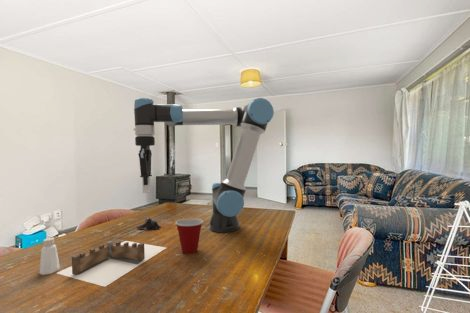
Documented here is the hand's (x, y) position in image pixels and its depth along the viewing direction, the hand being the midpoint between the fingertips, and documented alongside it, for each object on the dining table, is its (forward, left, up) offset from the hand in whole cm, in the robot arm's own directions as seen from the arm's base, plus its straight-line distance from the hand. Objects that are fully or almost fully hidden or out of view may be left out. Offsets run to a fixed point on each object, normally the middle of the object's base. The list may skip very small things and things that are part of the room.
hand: (146, 192), depth 95 cm
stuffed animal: (+14, -15, -23) cm, 31 cm away
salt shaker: (+16, +28, -23) cm, 39 cm away
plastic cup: (-20, -1, -23) cm, 30 cm away
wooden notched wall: (-1, +13, -22) cm, 25 cm away
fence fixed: (+5, +21, -22) cm, 31 cm away
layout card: (+1, +14, -22) cm, 27 cm away
